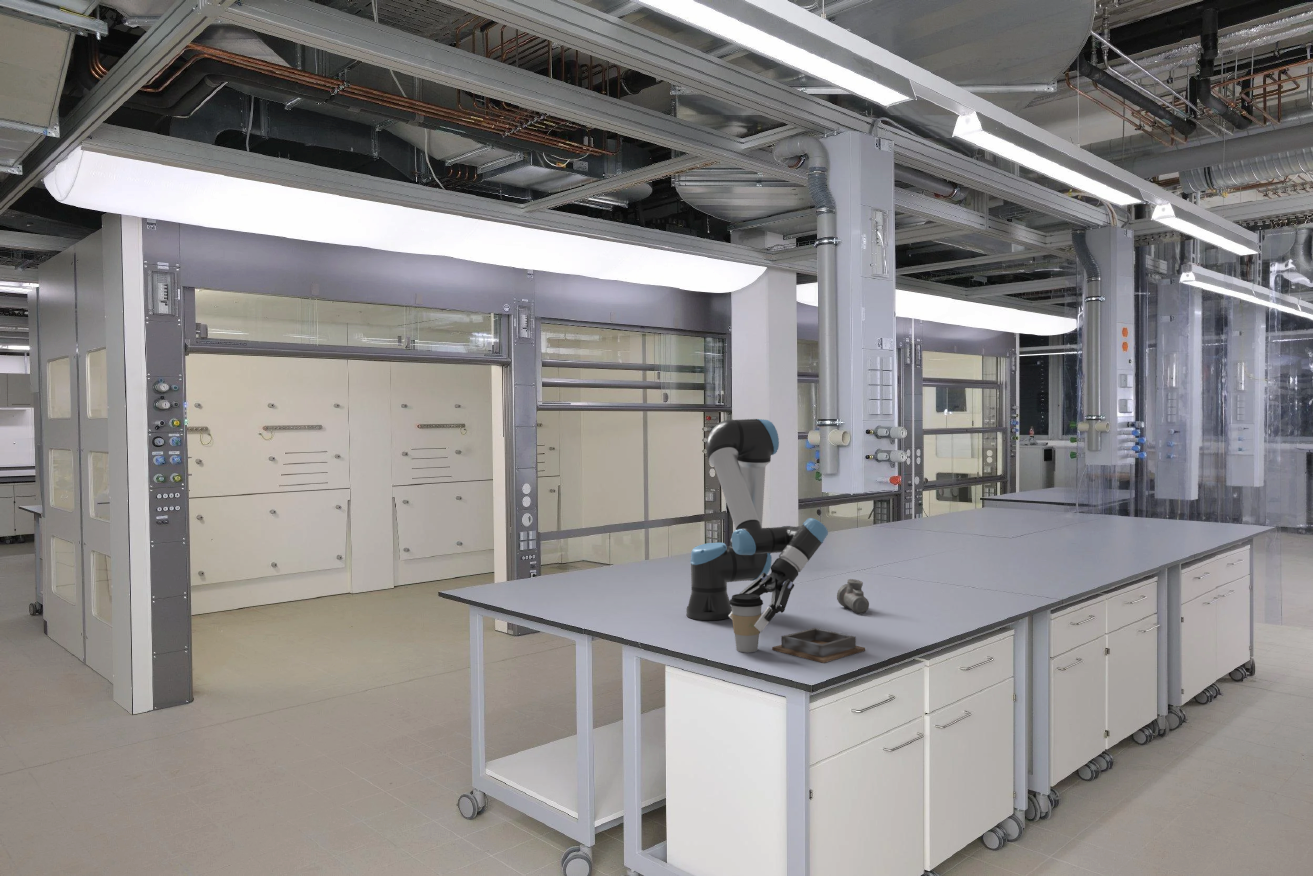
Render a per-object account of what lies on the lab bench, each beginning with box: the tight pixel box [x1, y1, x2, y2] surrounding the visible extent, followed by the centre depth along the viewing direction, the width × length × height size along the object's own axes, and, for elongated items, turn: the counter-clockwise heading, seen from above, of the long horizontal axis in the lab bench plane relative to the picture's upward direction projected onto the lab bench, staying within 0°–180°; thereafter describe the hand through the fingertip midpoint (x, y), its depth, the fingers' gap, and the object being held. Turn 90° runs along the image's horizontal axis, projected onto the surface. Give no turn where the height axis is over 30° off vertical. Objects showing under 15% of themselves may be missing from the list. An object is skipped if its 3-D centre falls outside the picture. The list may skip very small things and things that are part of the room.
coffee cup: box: [729, 593, 764, 654], centre depth 245 cm, size 9×9×15 cm
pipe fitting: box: [836, 578, 870, 615], centre depth 293 cm, size 12×8×10 cm
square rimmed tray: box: [771, 627, 866, 664], centre depth 244 cm, size 18×18×4 cm
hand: (744, 624), depth 244 cm, fingers open, 13 cm apart
